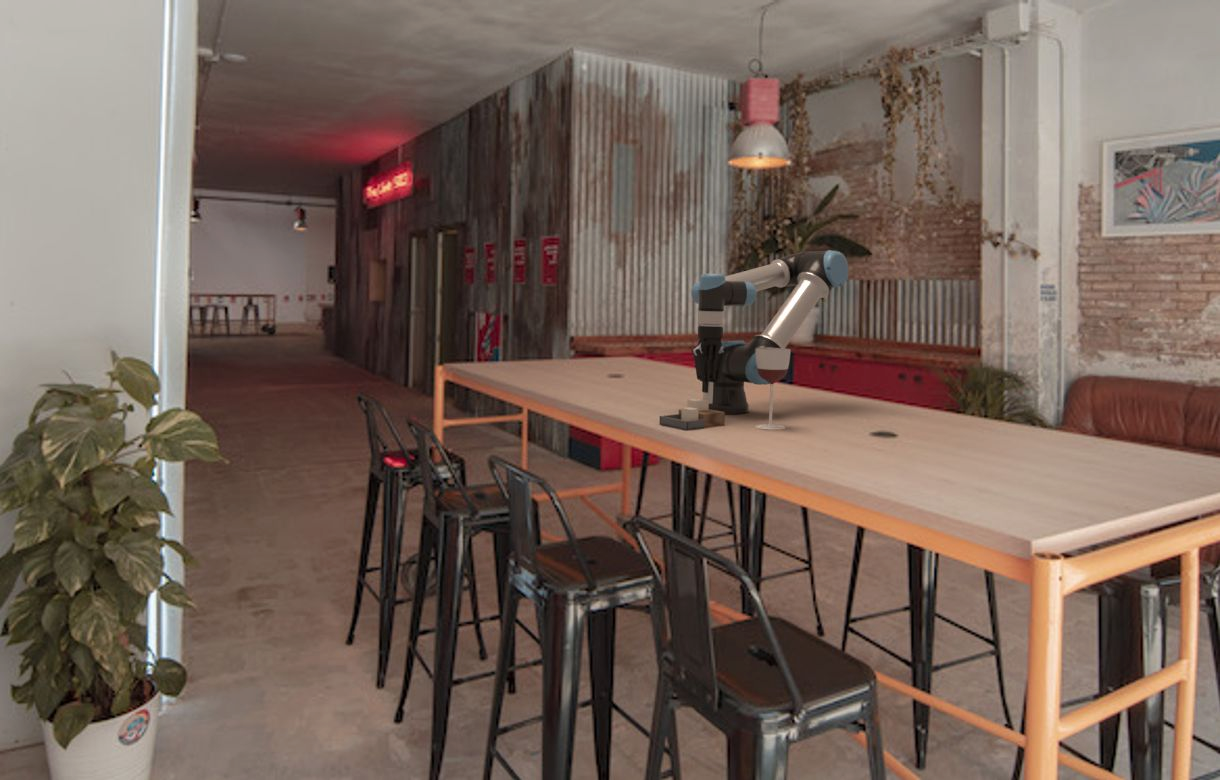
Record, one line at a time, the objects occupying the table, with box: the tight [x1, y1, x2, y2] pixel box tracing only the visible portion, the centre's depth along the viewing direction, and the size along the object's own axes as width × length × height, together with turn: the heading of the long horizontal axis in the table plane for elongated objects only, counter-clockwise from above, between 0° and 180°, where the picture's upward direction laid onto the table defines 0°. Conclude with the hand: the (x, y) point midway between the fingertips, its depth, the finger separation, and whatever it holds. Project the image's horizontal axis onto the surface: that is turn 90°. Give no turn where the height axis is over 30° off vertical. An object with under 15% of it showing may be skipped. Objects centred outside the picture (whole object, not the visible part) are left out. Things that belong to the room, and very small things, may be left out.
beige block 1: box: [686, 398, 709, 411], centre depth 254 cm, size 5×4×3 cm
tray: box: [659, 413, 706, 431], centre depth 248 cm, size 7×12×3 cm, turn 37°
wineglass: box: [755, 348, 792, 430], centre depth 247 cm, size 9×10×23 cm
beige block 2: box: [681, 406, 699, 421], centre depth 246 cm, size 5×4×3 cm
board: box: [678, 408, 726, 429], centre depth 252 cm, size 8×11×4 cm
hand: (707, 403), depth 257 cm, fingers closed
